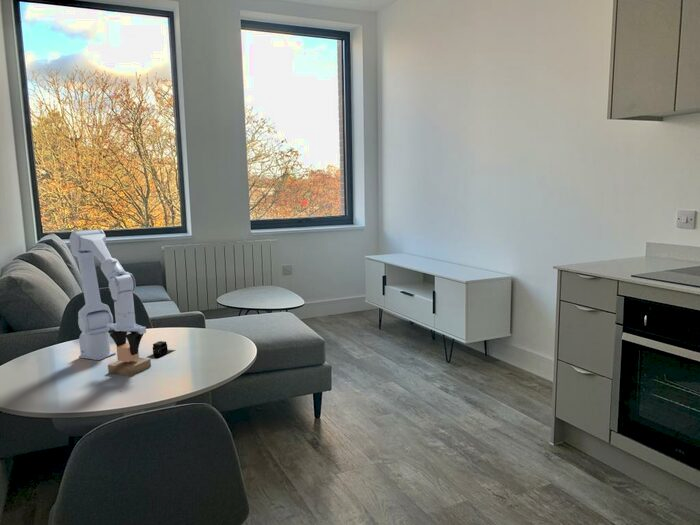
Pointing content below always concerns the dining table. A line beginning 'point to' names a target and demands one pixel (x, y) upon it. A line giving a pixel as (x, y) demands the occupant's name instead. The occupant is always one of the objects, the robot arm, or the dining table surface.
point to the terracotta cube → (125, 353)
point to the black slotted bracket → (160, 350)
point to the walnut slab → (129, 366)
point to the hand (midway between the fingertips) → (128, 353)
